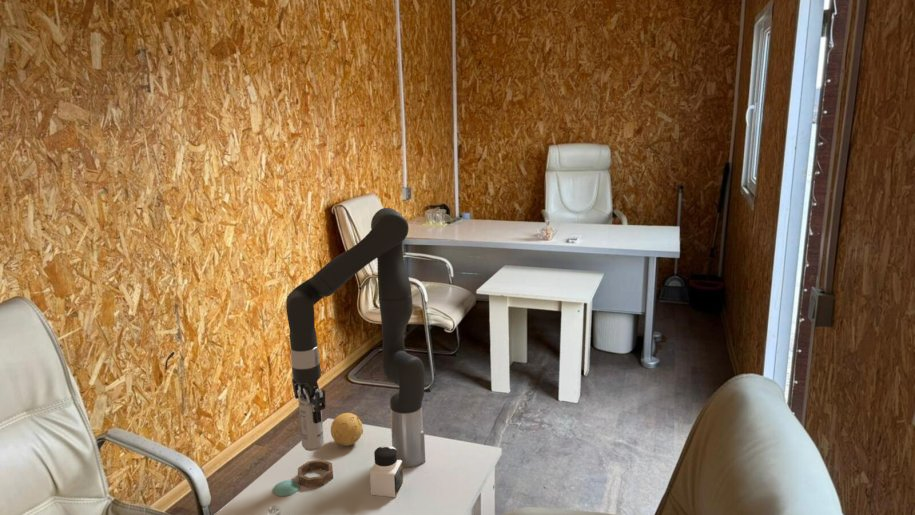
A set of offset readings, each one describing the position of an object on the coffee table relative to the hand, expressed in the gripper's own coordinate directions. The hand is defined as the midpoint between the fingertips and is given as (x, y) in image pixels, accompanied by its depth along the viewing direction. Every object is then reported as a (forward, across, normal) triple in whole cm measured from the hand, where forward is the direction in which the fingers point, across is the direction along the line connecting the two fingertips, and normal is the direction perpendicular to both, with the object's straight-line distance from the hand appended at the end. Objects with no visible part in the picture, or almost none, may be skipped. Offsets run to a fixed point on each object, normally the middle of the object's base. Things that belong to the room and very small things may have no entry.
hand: (311, 418), depth 170 cm
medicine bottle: (+19, -19, -10) cm, 29 cm away
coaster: (+18, +1, +9) cm, 20 cm away
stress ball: (+19, +9, -16) cm, 26 cm away
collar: (+18, 0, +1) cm, 18 cm away
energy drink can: (+9, 0, 0) cm, 9 cm away
